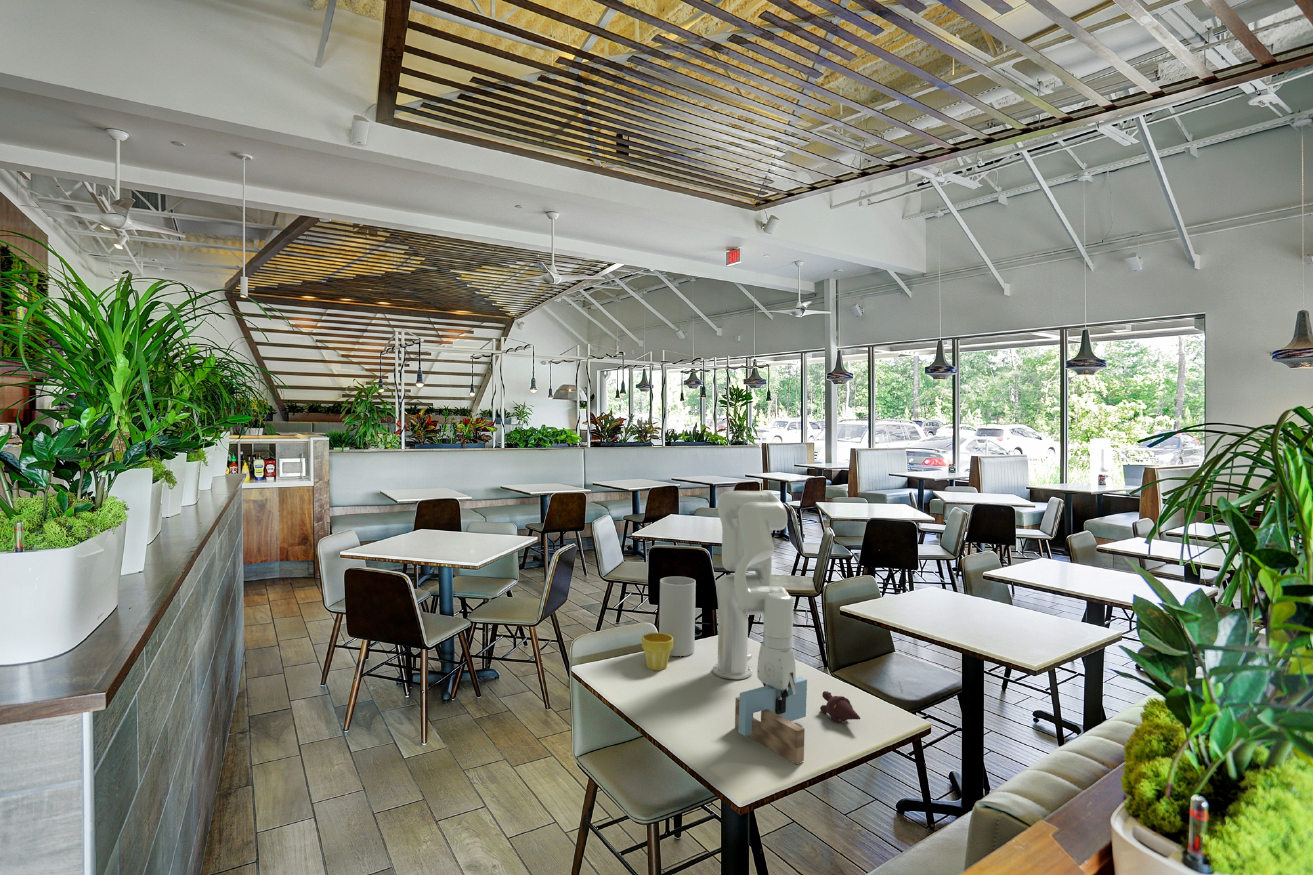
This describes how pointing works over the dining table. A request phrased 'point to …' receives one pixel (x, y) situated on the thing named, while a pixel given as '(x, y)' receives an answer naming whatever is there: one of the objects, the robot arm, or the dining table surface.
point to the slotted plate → (771, 704)
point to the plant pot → (657, 649)
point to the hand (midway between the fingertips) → (776, 710)
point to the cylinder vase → (678, 613)
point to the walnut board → (776, 734)
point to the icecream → (838, 708)
